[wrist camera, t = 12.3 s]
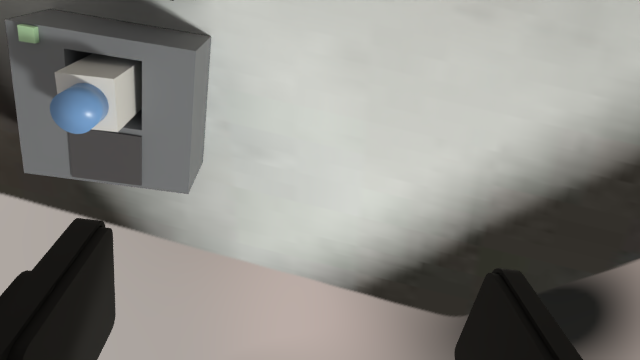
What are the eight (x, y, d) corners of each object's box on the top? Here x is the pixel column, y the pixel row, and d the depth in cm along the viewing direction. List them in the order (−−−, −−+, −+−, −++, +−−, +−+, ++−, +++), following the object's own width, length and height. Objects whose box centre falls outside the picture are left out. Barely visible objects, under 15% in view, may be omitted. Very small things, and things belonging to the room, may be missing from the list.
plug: (151, 53, 35) (101, 87, 26) (152, 97, 36) (106, 143, 27) (104, 47, 34) (37, 80, 26) (108, 92, 36) (46, 137, 27)
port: (211, 36, 35) (194, 52, 30) (202, 162, 40) (186, 197, 34) (50, 9, 34) (0, 20, 28) (61, 142, 39) (20, 175, 33)
